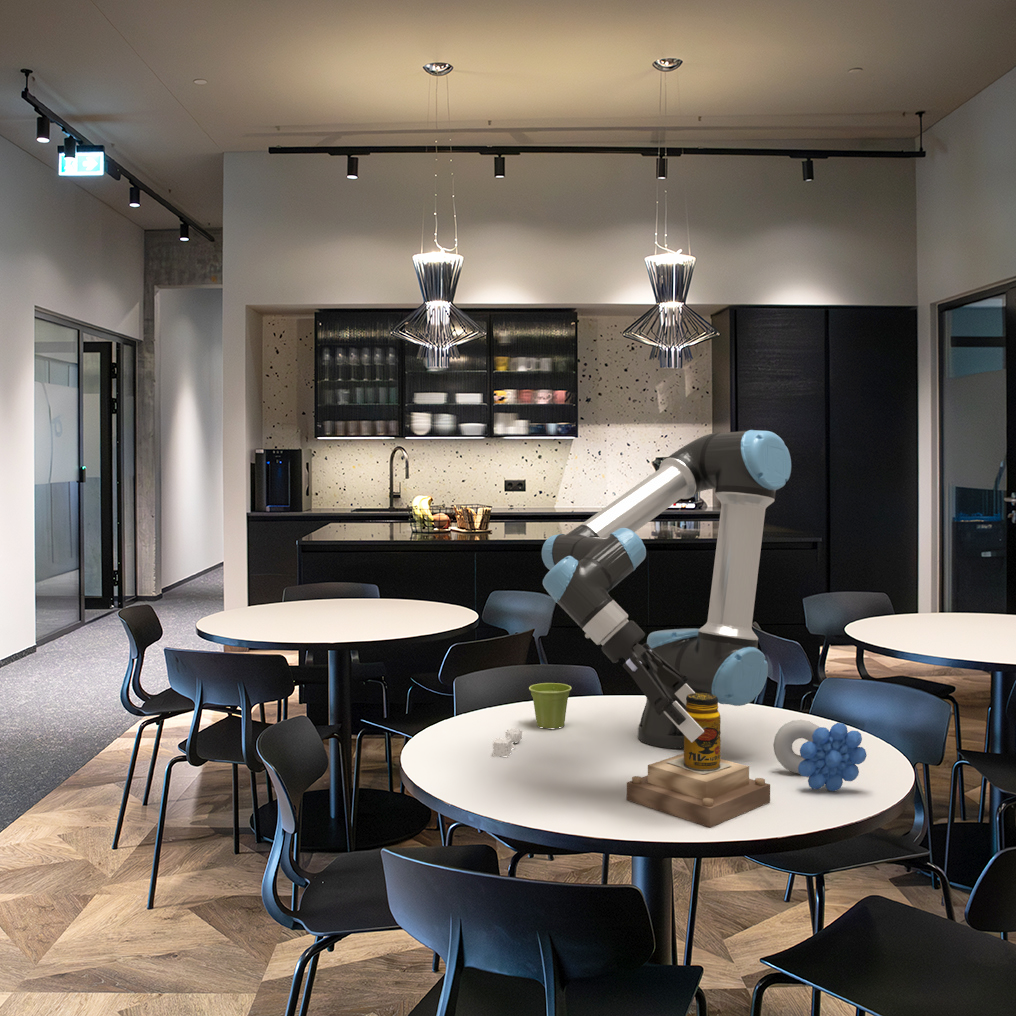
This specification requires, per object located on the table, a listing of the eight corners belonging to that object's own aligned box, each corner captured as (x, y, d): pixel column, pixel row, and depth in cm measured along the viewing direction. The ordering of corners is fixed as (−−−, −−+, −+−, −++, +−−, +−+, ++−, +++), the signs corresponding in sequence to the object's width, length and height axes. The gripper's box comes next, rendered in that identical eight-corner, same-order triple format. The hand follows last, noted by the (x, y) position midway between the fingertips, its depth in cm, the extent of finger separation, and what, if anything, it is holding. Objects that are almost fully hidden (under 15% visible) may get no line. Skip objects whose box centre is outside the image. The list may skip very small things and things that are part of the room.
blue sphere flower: (857, 783, 163) (858, 716, 163) (870, 796, 157) (871, 726, 156) (791, 782, 164) (792, 716, 164) (801, 795, 157) (802, 726, 157)
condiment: (703, 775, 149) (703, 702, 149) (665, 762, 156) (665, 693, 156) (732, 766, 154) (732, 696, 154) (693, 755, 161) (694, 687, 160)
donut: (828, 772, 170) (828, 718, 170) (831, 778, 166) (831, 723, 166) (772, 769, 172) (772, 716, 171) (774, 775, 168) (774, 721, 168)
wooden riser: (626, 799, 155) (626, 764, 155) (688, 778, 167) (688, 745, 167) (709, 827, 143) (709, 789, 143) (770, 802, 154) (770, 766, 154)
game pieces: (508, 759, 180) (508, 743, 179) (492, 758, 180) (492, 742, 180) (523, 741, 191) (523, 726, 191) (508, 740, 192) (508, 725, 192)
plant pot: (540, 733, 197) (540, 693, 196) (522, 723, 205) (522, 684, 205) (578, 729, 200) (578, 689, 200) (559, 719, 209) (559, 681, 209)
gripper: (613, 635, 171) (694, 722, 167) (583, 660, 147) (676, 761, 143) (642, 608, 169) (724, 695, 165) (616, 629, 145) (711, 730, 141)
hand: (702, 726), depth 154 cm, fingers open, 13 cm apart
